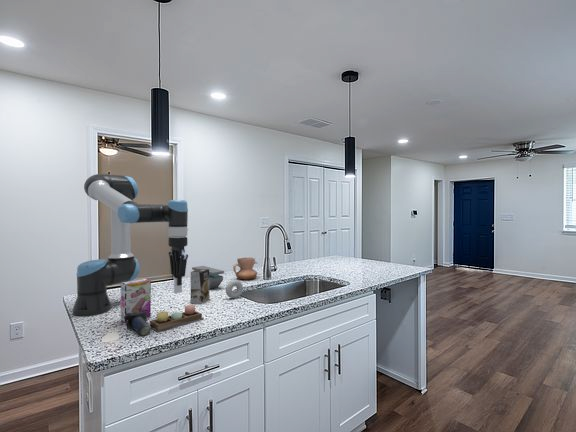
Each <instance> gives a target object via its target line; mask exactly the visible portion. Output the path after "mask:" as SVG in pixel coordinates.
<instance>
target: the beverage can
mask: <svg viewBox="0 0 576 432" xmlns="http://www.w3.org/2000/svg"><path fill="white" fill-rule="evenodd" d="M146 311H147V310H143V311H142V312H139V313H133V314H130V313H128V314H126V315H127V316H124V319H125V321H127V320H128V321H127V322H126V323H125V327H126V330H127V331H130V330H132V329H134V330H135V331H136V332H137V333H138V334H139V335H140V336H148V334H149V333H151V330H152V329H151V327H150V323H148V322H147V321H148V317H147V313H146Z"/></svg>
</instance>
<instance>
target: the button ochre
mask: <svg viewBox="0 0 576 432" xmlns="http://www.w3.org/2000/svg"><path fill="white" fill-rule="evenodd" d="M168 316H169V311H160V312H157V313H156V319H157V321H166V320H168Z"/></svg>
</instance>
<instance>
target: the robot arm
mask: <svg viewBox="0 0 576 432" xmlns="http://www.w3.org/2000/svg"><path fill="white" fill-rule="evenodd" d="M83 189H84V193H85V194H86V195H87V196H88V197H89V198H91V199H92V200H94V201H99V202H100V203H102V204H104V205H105V206H107V207H108V208H110V244H111V246H110V247H111V253H110V255H109V256H108V258H107V260H106V259H103V258H102V259H101V258H99V259H92V260H88V261H85V262H81V263H80V264H78V266H77V267H76V269H77V270H76V287H77V288H76V290H77V294H76V299H75V302H74V305H73V307H72V315H74V316H78V317H86V316H87V317H88V316H89V317H90V316H94V315H95V316H96V315H100V314H103V313H106V312H109V311H110V310H111V309H112V303H111V301H110V297H109V296H108V295H109V294H108V293H107V288H108V287H109V286H113V285H119V284H121V283H123V282H129V281H135V280H136V279H137V277H138V275H139V273H140V263H139V260H138V259H137V258H135V254H134V253H132V252H131V251H132V250H131V224H140V223H168V229H167V230H168V235H167V236H168V247H171V251H169V252H168V258H169V264H170V274H171V275H172V276H173V278H174V279H173V293H174V294H181V293H182V292H183V288H182V287H183V277H185V276H186V271H187V264H188V263H187V261H188V257H189V254H188V253H185V252H186V249H185V248H186V247H187V246H188V237H187V236H188V231H189V228H188V223H189V221H188V213H189V210H188V209H189V208H188V201H187V200H182V199H170V200H169V201H168V204H145V203H143V204H141V203H137V202H136V201H134V200H135V199H136V198H137V196H138V194H139V187H138V184H137V182H136V181H135V179H134V178H133V177H131V176H127V175H126V176H125V175H119V174H118V175H117V174H107V173H98V174H93V175H91V176H89V177H88V178H87V179H86V180H85V182H84V185H83Z"/></svg>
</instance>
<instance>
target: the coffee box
mask: <svg viewBox="0 0 576 432" xmlns="http://www.w3.org/2000/svg"><path fill="white" fill-rule="evenodd" d="M209 300H210V289H209V269H198V270H192V271H190V304H194V305H196V304H197V305H202V304H204V303H206V302H207V301H209Z"/></svg>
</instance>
